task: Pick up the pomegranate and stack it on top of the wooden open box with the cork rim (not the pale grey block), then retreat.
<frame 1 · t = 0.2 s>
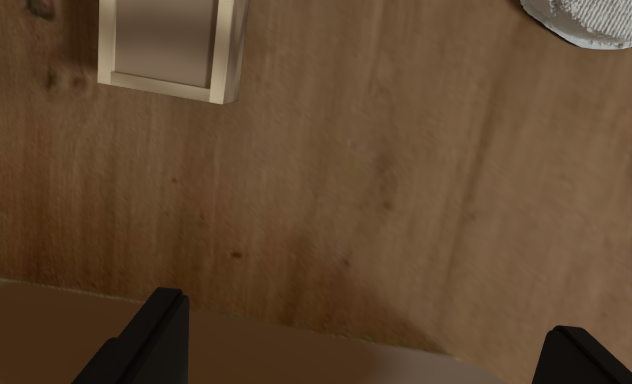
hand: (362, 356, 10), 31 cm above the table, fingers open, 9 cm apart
wooden open box: (190, 37, 37), on the table
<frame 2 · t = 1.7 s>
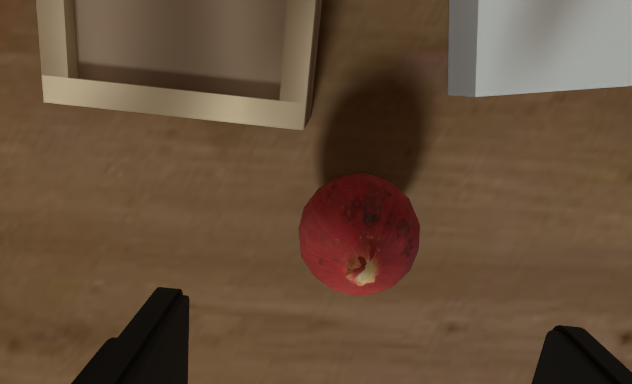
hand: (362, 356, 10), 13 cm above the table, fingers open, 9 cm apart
grey block: (519, 19, 20), on the table
wooden open box: (223, 8, 20), on the table
pomegranate: (353, 209, 23), on the table
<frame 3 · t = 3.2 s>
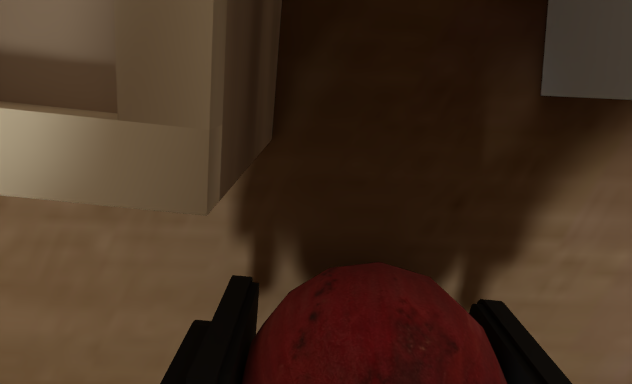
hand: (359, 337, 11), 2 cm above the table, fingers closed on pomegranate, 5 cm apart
pomegranate: (354, 302, 12), on the table, touching gripper
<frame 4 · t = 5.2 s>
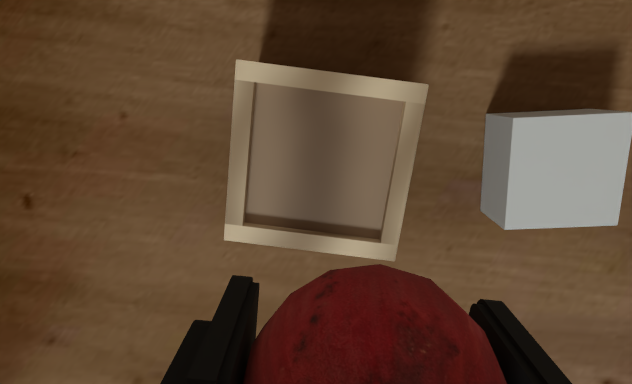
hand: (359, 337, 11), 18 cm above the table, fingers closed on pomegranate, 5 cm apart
grey block: (533, 161, 28), on the table
wooden open box: (321, 148, 28), on the table
pomegranate: (354, 304, 12), point 16 cm above the table, touching gripper
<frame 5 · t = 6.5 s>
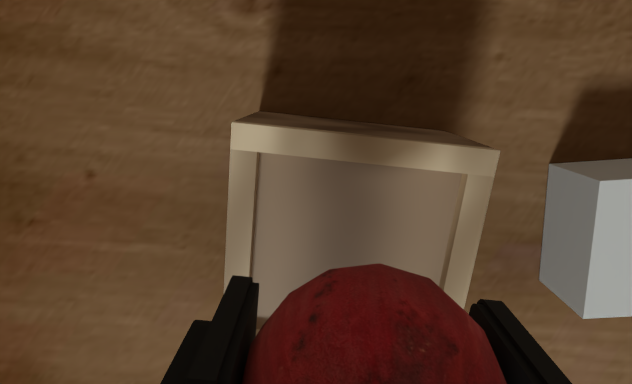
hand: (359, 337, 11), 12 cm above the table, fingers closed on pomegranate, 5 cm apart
grey block: (606, 220, 22), on the table
wooden open box: (341, 210, 22), on the table
pomegranate: (354, 303, 12), point 10 cm above the table, touching gripper
when the fingers open (8 cm above the table, at t = 7.5 s): pomegranate stays where it is, resting on wooden open box.
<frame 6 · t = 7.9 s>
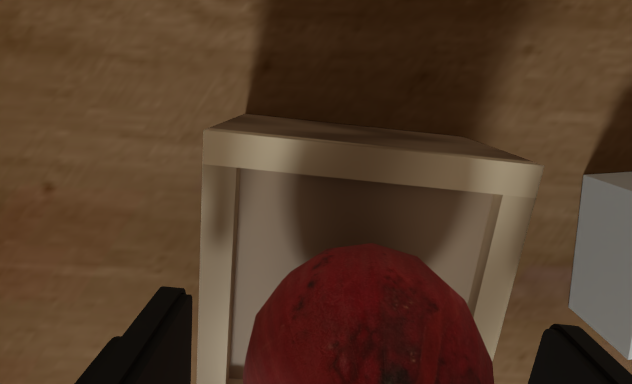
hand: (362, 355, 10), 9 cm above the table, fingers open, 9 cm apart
wooden open box: (341, 228, 19), on the table
pomegranate: (351, 291, 13), point 6 cm above the table, touching wooden open box
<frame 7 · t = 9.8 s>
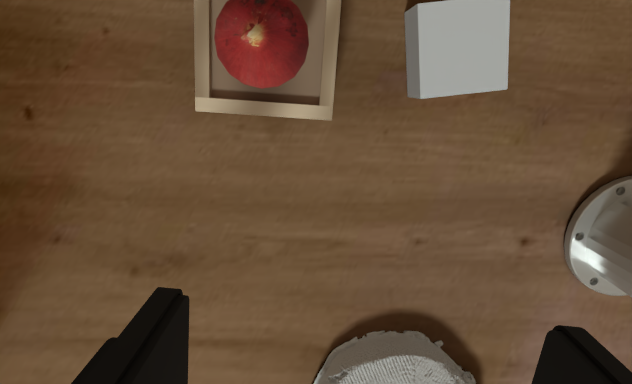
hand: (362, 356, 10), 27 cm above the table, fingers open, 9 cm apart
grey block: (445, 51, 34), on the table
wooden open box: (273, 50, 34), on the table
pomegranate: (267, 46, 28), point 6 cm above the table, touching wooden open box
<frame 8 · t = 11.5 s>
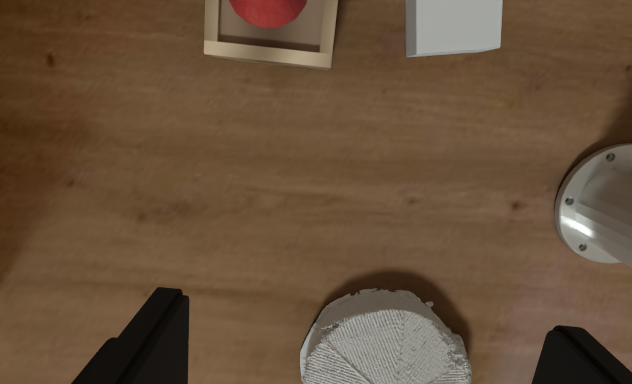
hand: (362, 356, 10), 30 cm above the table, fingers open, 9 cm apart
grey block: (444, 14, 36), on the table
grey round flat slab: (380, 360, 46), on the table
wooden open box: (280, 7, 36), on the table
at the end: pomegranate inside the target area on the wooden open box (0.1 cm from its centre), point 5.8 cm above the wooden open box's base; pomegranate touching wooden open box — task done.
